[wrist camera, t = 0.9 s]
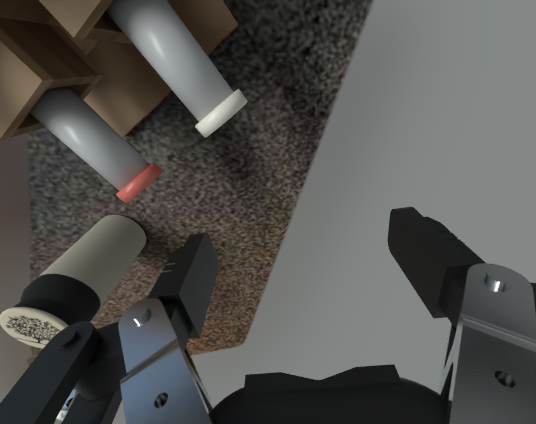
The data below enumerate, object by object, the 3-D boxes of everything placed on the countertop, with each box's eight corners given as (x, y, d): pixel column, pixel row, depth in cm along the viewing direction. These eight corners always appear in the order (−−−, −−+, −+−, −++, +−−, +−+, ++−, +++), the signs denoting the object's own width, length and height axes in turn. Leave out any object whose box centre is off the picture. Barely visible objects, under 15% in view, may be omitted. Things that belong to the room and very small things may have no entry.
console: (168, -86, 22) (-74, -401, 7) (238, 25, 26) (183, -22, 11) (56, 66, 29) (-190, 75, 14) (126, 135, 33) (-4, 201, 18)
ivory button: (166, -22, 18) (133, -45, 14) (250, 97, 22) (244, 106, 18) (127, 26, 20) (87, 18, 16) (212, 129, 24) (198, 144, 20)
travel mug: (104, 205, 39) (-7, 299, 24) (152, 226, 41) (78, 325, 26) (96, 239, 43) (-4, 337, 28) (141, 256, 45) (70, 358, 30)
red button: (85, 78, 22) (40, 83, 18) (169, 164, 26) (149, 184, 22) (57, 112, 23) (11, 123, 19) (141, 188, 28) (117, 210, 24)
